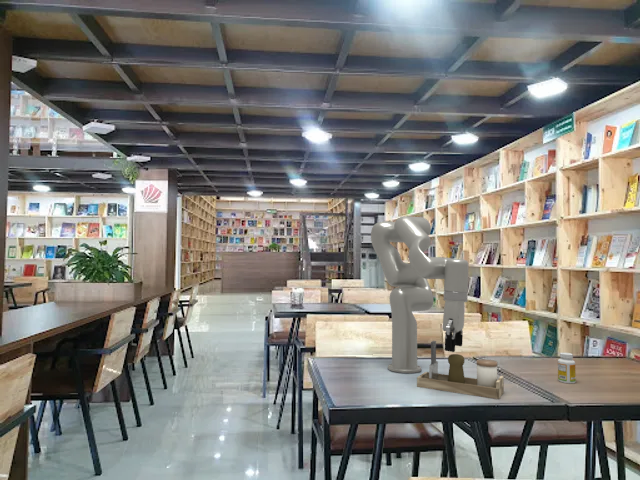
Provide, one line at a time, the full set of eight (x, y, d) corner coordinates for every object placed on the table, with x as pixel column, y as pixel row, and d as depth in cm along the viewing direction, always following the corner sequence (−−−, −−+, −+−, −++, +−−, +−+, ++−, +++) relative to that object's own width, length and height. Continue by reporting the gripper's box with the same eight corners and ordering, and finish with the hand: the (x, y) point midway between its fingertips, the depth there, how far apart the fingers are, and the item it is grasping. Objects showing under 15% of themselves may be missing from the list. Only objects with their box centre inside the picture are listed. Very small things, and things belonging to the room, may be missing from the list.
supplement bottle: (573, 380, 157) (573, 352, 157) (577, 384, 152) (576, 355, 152) (556, 379, 159) (556, 351, 159) (559, 382, 154) (559, 354, 154)
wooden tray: (425, 380, 154) (425, 365, 154) (503, 392, 141) (503, 376, 141) (416, 386, 146) (417, 371, 147) (499, 399, 133) (498, 382, 134)
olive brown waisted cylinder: (443, 386, 147) (443, 352, 148) (461, 386, 148) (461, 352, 148) (451, 391, 141) (450, 356, 142) (469, 391, 142) (469, 356, 142)
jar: (478, 389, 144) (478, 358, 144) (499, 392, 140) (498, 360, 141) (474, 394, 138) (474, 361, 139) (496, 397, 135) (495, 364, 136)
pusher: (435, 381, 151) (435, 339, 152) (437, 382, 151) (437, 340, 152) (429, 386, 145) (429, 342, 146) (431, 387, 145) (431, 343, 146)
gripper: (450, 293, 155) (449, 342, 155) (436, 297, 141) (434, 351, 141) (472, 295, 152) (471, 345, 152) (460, 300, 137) (458, 355, 137)
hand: (453, 348), depth 146 cm, fingers open, 9 cm apart
